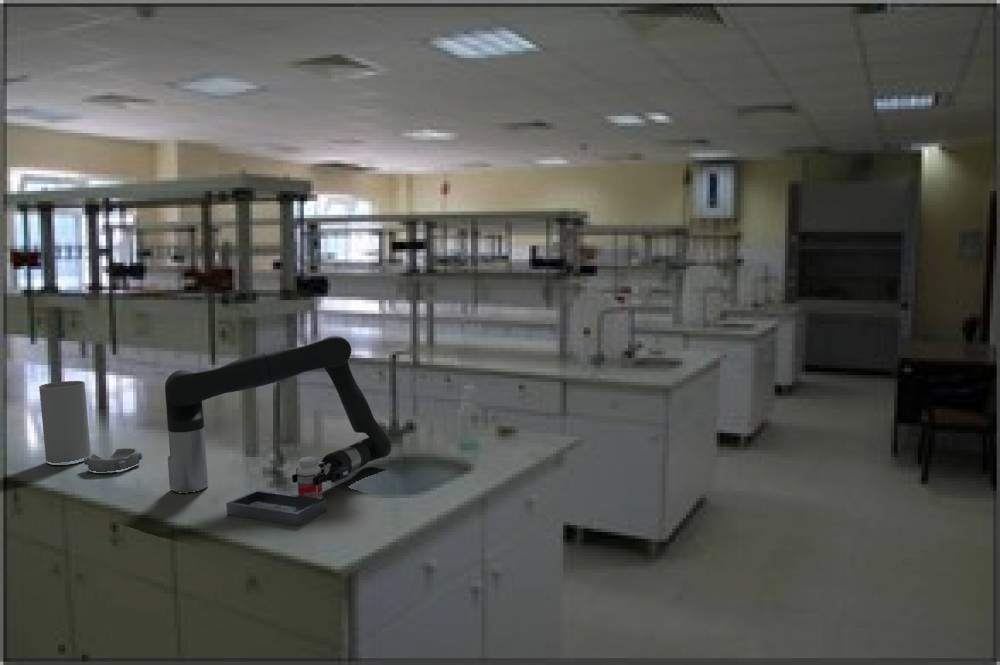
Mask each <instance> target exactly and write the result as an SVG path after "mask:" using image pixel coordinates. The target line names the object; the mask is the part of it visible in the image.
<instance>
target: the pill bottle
mask: <svg viewBox="0 0 1000 665" xmlns="http://www.w3.org/2000/svg"><path fill="white" fill-rule="evenodd" d="M318 463H319V460H318V457H317V456H306V457H302V458H300V459H299V467H300V466H301V467H300V468H299V469H298V470H297V480H298V482H297V493H298V496H305V497H312V498H319V499H323V496H324V495H323V483H321V484H319V485H317V486H316V485H313V478H314V477H315V476H317V475H320V474H321V468H320V467H319V466H317V464H318Z"/></svg>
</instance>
